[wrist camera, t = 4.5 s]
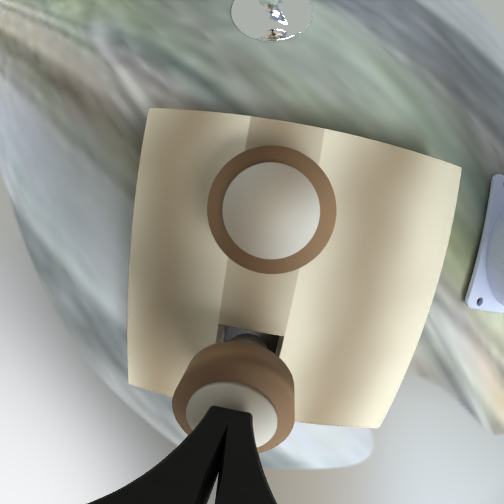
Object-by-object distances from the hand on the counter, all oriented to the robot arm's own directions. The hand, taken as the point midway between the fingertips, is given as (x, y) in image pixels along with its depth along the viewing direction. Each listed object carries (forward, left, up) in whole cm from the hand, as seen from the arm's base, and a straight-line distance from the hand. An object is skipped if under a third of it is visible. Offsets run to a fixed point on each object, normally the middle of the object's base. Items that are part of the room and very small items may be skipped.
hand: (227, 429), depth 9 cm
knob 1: (0, -7, -8) cm, 10 cm away
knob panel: (-1, -4, -8) cm, 9 cm away
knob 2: (0, 0, -5) cm, 5 cm away
